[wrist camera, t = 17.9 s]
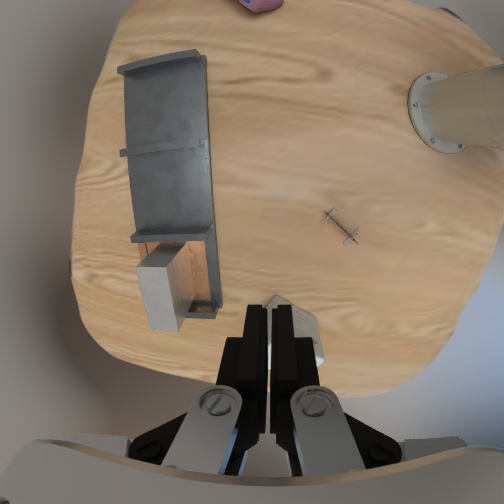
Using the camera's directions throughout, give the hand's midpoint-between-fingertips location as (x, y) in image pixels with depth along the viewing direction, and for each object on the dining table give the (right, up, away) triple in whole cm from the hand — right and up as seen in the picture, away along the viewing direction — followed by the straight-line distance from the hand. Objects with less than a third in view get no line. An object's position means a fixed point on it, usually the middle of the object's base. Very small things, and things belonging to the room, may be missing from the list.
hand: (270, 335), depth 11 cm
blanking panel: (-12, +1, +31) cm, 33 cm away
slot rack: (-12, +12, +28) cm, 32 cm away
